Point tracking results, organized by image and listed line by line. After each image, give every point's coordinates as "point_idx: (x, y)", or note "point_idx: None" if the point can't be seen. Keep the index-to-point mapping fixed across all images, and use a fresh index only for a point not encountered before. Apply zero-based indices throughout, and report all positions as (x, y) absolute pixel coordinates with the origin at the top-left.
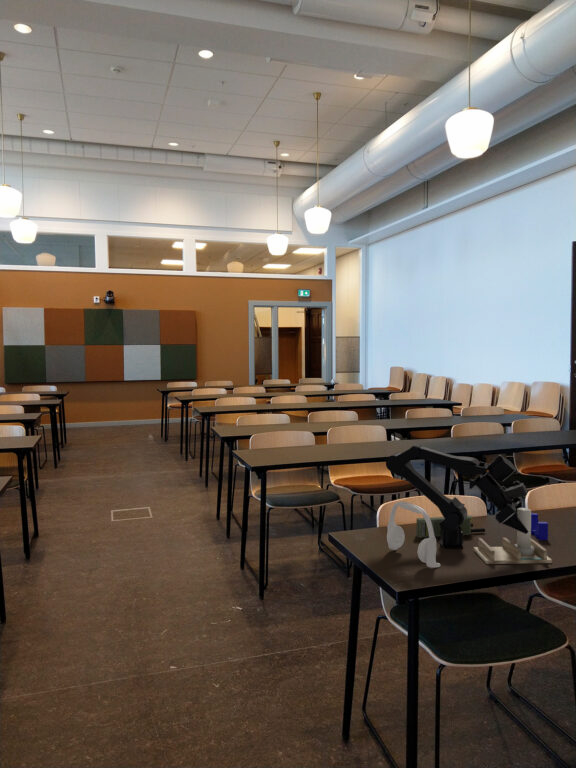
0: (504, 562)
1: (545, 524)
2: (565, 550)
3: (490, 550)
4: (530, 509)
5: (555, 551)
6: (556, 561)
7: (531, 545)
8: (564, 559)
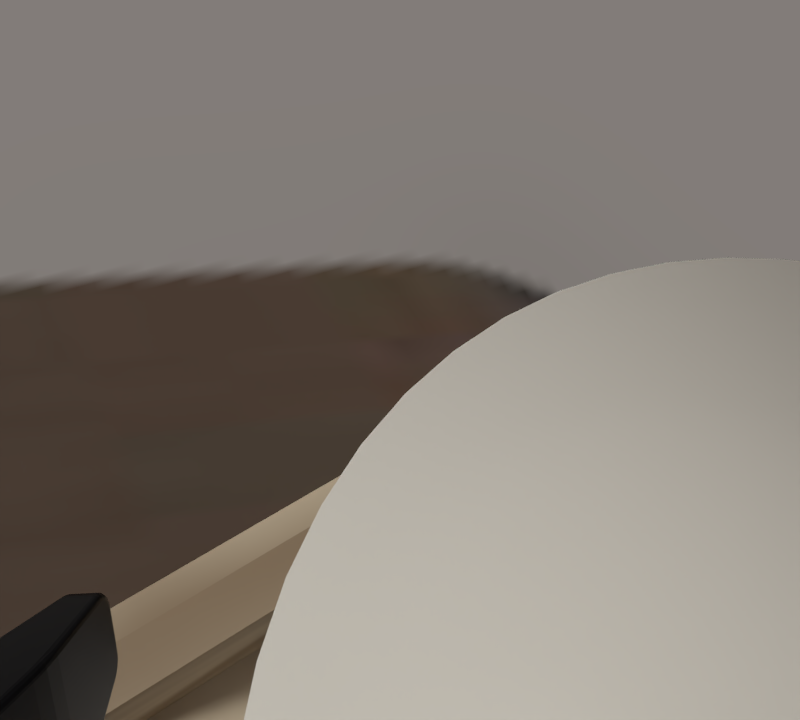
0: None
1: None
2: (16, 315)
3: None
4: (503, 320)
5: (87, 399)
6: (420, 361)
7: (245, 642)
8: (319, 303)
